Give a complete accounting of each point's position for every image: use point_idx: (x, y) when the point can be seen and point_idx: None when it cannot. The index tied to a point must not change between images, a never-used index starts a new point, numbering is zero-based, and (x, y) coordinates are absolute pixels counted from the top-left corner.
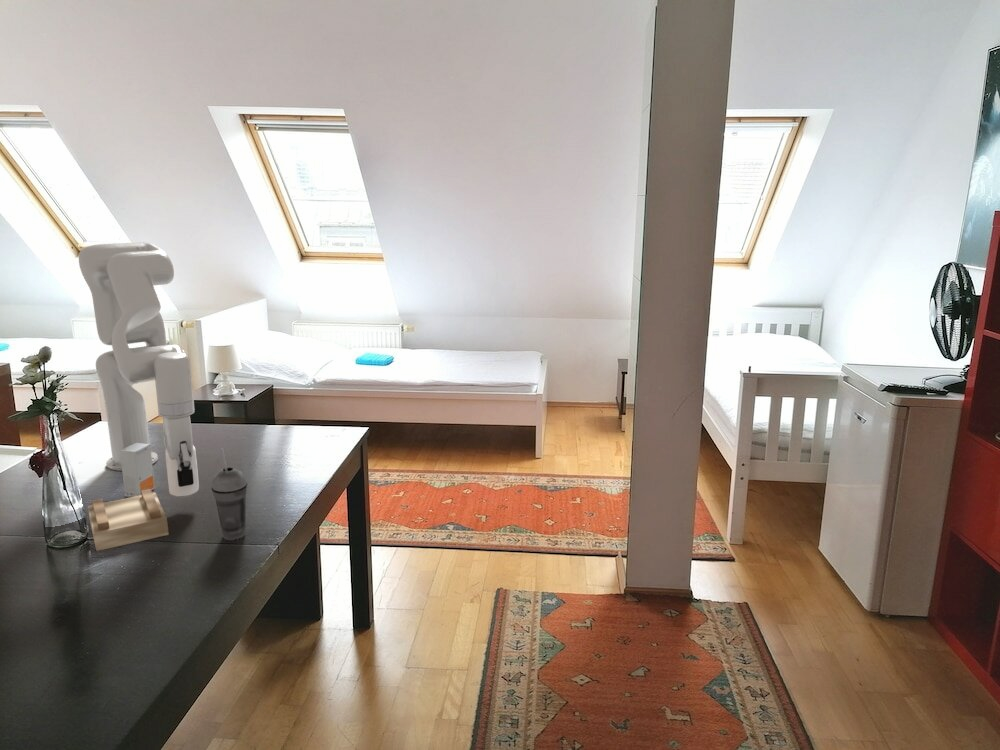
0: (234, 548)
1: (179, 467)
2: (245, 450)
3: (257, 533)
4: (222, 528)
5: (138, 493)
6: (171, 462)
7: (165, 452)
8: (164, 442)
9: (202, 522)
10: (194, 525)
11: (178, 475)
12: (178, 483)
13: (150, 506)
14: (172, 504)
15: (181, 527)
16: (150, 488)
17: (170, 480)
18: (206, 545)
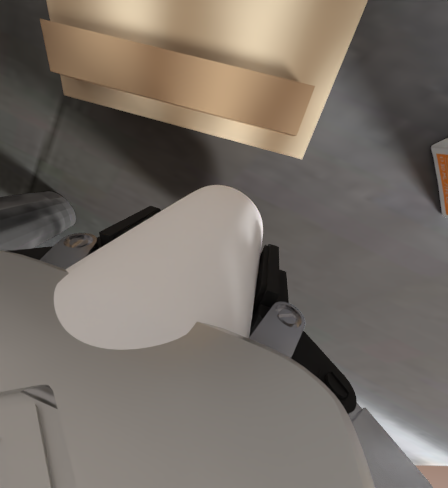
0: (10, 184)
1: (58, 246)
2: (403, 405)
3: (55, 237)
4: (22, 194)
5: (446, 144)
6: (100, 248)
7: (122, 298)
8: (282, 471)
9: (137, 197)
10: (131, 178)
11: (118, 224)
12: (146, 209)
13: (105, 50)
14: (281, 197)
15: (135, 151)
16: (445, 200)
17: (185, 199)
18: (31, 152)
